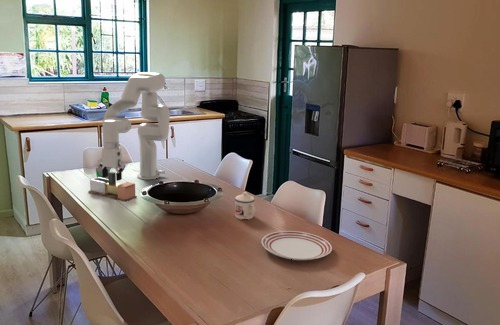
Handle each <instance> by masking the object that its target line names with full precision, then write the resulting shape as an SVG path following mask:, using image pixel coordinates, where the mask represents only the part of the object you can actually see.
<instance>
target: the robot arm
mask: <svg viewBox="0 0 500 325" xmlns="http://www.w3.org/2000/svg"><path fill="white" fill-rule="evenodd" d="M165 84H166V78H165V75H163V74H162V73H159V72H149V71H142V72H141V71H140V72H136V73H135V74H134V75H131V76H130V77H129V78H128V80H127V82H126V84H125V86H124V89H123V92H122V95H121V96H120V98H119V99H118V100H116V101H114V102H113V104H111V105H110V106H109V107H108V108H107V109H106V111H105V113H104V116H103V118H102V122H101V123H102V124H101V125H102V149H101V158H100V159H98V161H97V162H98V164H99V166H100V167H101V170H102V177H103V178H105V177H108V169H107V167H109V168H111V169H115V171H116V172H115V173H116V182H119V181H122V179H123V178H122V177H123V176H122V175H123V174H122V173H123V171H124V170H125V168H126V164H125V163H124V162H123V156H122V155H123V154H122V150H121V147H120V146H121V144H120V141H119V138H120V134H126V133H129V131H130V130H132V122H131V120H130V119H129V118H125V117H117V115H119V114H120V113H121V112H123V111H127V110H130V109H132V108H135V107H136V106H137V104H138V101H139V99H140V96H141V113H140V114H141V118H142V119H143V120H145V121H149V122H143V123H140V124H139V125H138V127H137V135H138V141H139V142H138V143H139V173H138V174H137V176H136V177H137V178H138V179H140V180H146V181H148V180H156V178H157V179H158V178H160V176H161V175H165V174H166V171H165V170H163V169H158V166H157V163H158V161H157V160H158V157H157V156H158V155H157V154H158V153H157V150H158V149H157V145H156V142H165V141H166V140H168V137H169V133H170V132H169V131H170V118H171V116H170V110H169V107H168V106H167V105H164V104H158V93H157V91H160V90H162V89H163V88H164V86H165ZM150 121H151V122H150ZM152 122H153V123H152ZM154 122H158V123H154Z"/></svg>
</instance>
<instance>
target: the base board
mask: <svg viewBox="0 0 500 325" xmlns="http://www.w3.org/2000/svg"><path fill="white" fill-rule="evenodd" d="M87 193H88V194H90V195H95V196H100V197H103V198H106V199H111V200H115V201H119V202H124V203H126V202H127V203H128V202H129V201H132V200H135V199H137V197H138V195H135V196H134V197H131V198H129V199H126V200H125V199H121V198H118V195H116V194H112V193H107V194H102V193H98V192H93V191H90V190H88V192H87Z"/></svg>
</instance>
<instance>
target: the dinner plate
mask: <svg viewBox="0 0 500 325" xmlns="http://www.w3.org/2000/svg"><path fill="white" fill-rule="evenodd" d="M261 245H262V247H263V248H264V249H265V250H266V251H268V252H269V253H271V254H272V255H275V256H277V257H279V258H283V259H287V260H291V259H292V260H291V261H313V260H317V259H321V258H323V257H326V256H329V255H330V253H332V250H333V247H332V245H331V243H330V242H329V241H328V240H327V239H325V238H323V237H321V236H319V235H316V234H313V233H309V232H304V231H297V230H279V231H275V232H270V233H268V234H266V235H264V236H263V237H262V239H261Z"/></svg>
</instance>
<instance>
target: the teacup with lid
mask: <svg viewBox="0 0 500 325" xmlns="http://www.w3.org/2000/svg"><path fill="white" fill-rule="evenodd" d="M255 201H256V200H255V197H254V196H252V195H250V194H248V192H247V191H244V192H242V194H239V195H236V196H235V198H234V202H235V203H234V204H235V205H234V206H235V207H234V217H235V218H236V219H238V220H242V219H248V220H251V219H253V218H254V215H255V213H256V206H255Z"/></svg>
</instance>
